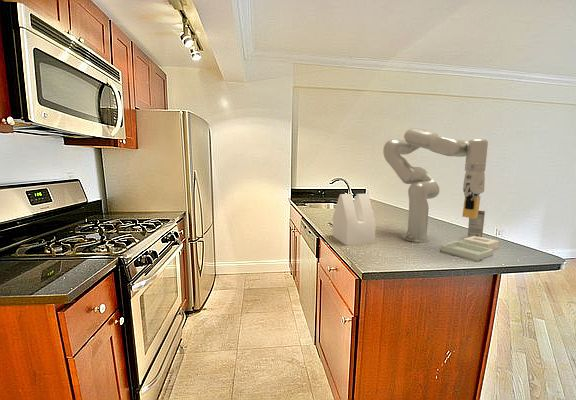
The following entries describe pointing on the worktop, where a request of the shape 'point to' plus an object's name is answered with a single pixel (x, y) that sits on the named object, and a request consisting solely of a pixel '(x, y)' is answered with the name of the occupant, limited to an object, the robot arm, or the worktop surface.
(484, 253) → the parts tray
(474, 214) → the fuse
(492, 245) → the beige square stand
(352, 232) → the white notched block
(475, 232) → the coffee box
